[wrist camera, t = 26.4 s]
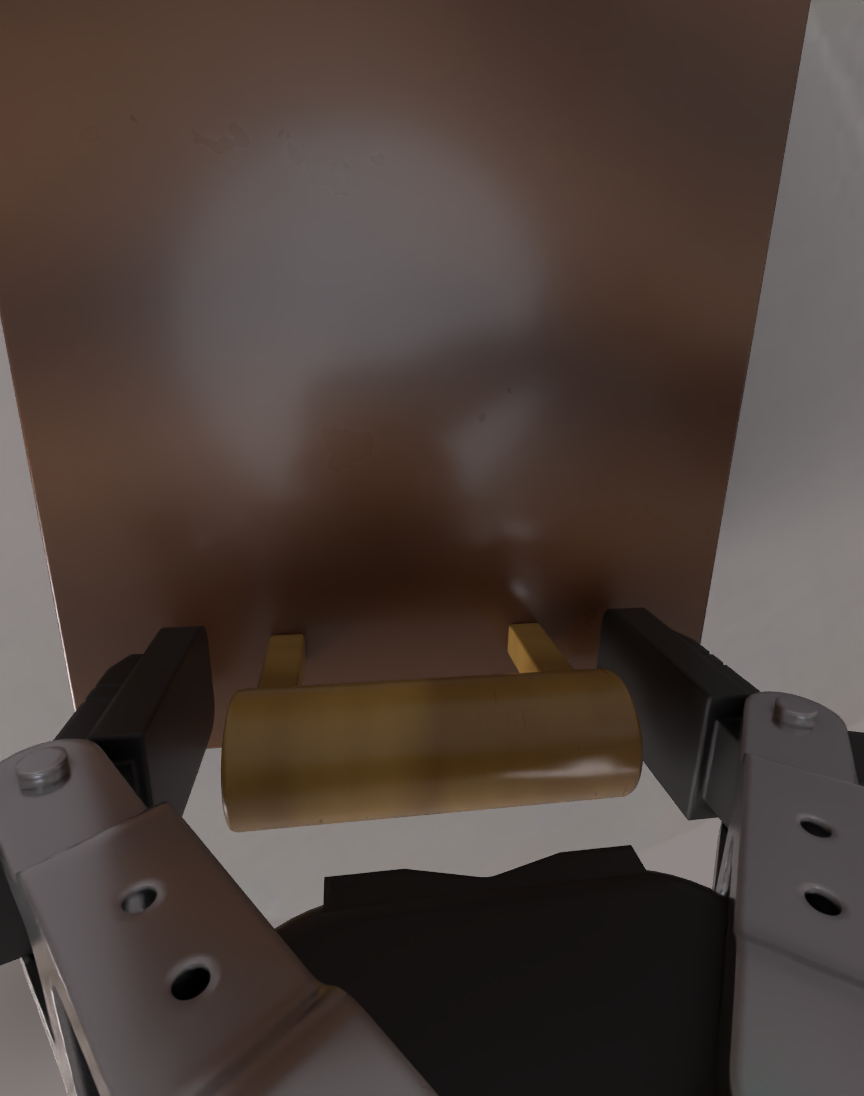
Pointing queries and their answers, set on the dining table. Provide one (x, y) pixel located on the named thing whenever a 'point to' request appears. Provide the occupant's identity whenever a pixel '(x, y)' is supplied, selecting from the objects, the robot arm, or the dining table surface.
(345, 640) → the lid
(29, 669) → the dining table surface
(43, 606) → the dining table surface
